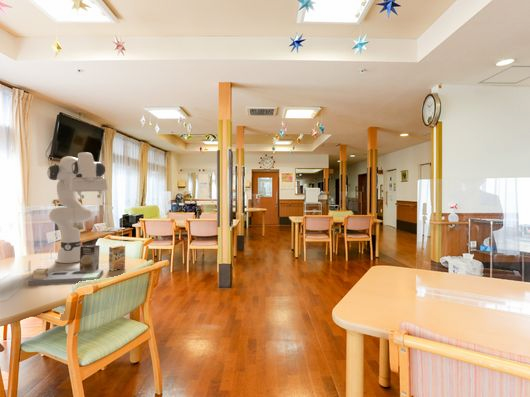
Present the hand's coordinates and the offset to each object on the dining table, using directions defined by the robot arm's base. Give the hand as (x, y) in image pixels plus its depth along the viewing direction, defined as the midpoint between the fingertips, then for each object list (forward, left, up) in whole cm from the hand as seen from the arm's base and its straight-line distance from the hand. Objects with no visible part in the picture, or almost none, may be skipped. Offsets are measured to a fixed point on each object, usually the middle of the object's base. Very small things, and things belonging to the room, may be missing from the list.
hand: (90, 198), depth 172 cm
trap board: (+11, -8, -47) cm, 49 cm away
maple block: (+14, -20, -45) cm, 51 cm away
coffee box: (-6, -2, -47) cm, 48 cm away
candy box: (-6, +14, -47) cm, 50 cm away
